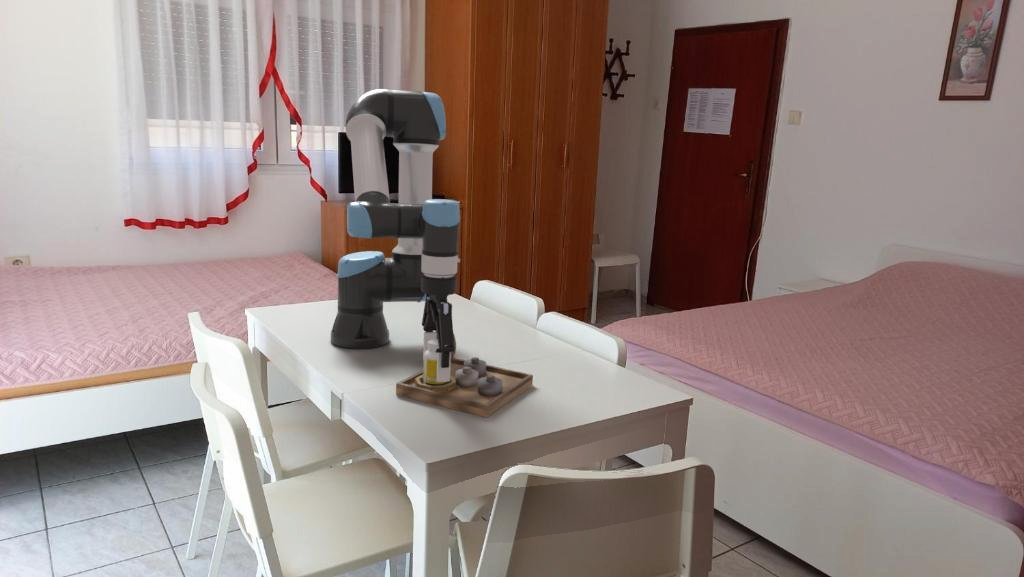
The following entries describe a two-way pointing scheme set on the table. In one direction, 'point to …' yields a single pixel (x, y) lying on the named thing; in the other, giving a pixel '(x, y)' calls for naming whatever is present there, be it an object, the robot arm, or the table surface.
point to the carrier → (469, 387)
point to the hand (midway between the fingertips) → (436, 370)
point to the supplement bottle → (431, 365)
